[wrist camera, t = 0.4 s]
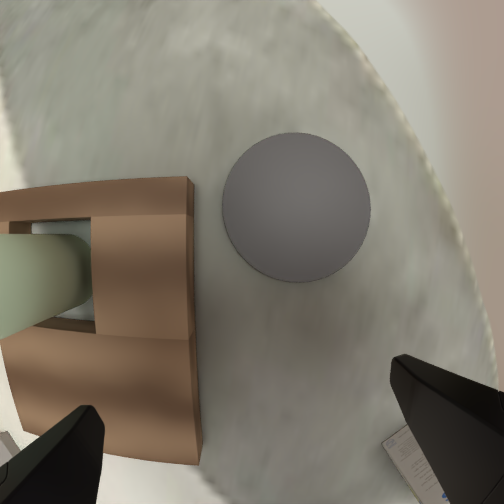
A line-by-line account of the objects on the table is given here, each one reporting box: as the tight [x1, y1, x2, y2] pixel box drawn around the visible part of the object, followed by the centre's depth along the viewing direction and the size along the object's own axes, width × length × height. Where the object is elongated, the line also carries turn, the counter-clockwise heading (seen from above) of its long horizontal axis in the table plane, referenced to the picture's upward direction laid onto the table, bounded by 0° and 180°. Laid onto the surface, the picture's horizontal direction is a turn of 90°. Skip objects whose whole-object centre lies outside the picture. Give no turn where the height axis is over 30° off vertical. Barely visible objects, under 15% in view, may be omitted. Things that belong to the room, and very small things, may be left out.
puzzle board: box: [0, 176, 203, 465], centre depth 20 cm, size 20×16×3 cm
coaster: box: [222, 133, 371, 282], centre depth 21 cm, size 10×10×1 cm
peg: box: [0, 234, 93, 340], centre depth 15 cm, size 6×6×13 cm
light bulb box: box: [382, 425, 450, 504], centre depth 18 cm, size 11×7×11 cm, turn 36°
